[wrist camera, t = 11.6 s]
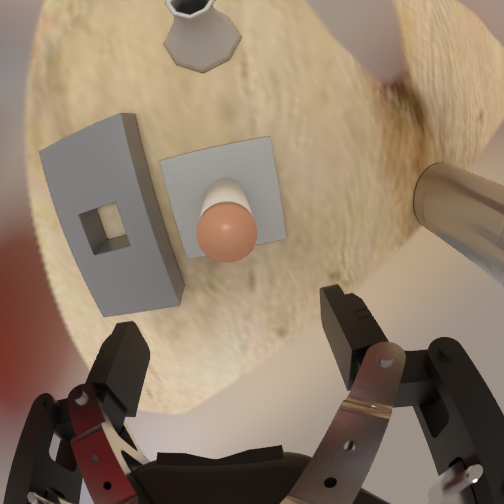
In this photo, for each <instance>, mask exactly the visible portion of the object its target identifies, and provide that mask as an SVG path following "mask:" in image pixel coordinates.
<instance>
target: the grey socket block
mask: <svg viewBox="0 0 504 504" xmlns="http://www.w3.org/2000/svg"><path fill="white" fill-rule="evenodd" d="M39 154H40V158H41V163H42V166H43V170H44V174H45V178H46V181H47V185H48V188H49V191H50V195H51V198H52V201H53V204H54V207H55V210H56V213H57V216H58V218H59V221H60V224H61V227H62V229H63V232H64V234H65V237H66V240H67V242H68V244H69V247H70V249H71V252H72V254H73V256H74V259H75V261H76V263H77V265H78V268H79V270H80V272H81V274H82V276H83V278H84V280H85V282H86V285H87V287H88V289H89V291H90V293H91V294H92V296H93V298H94V300H95V302H96V304H97V306H98V308H99V310H100V311H101V313H102V315H103V317H109V316H116V315H123V314H130V313H137V312H143V311H150V310H156V309H162V308H168V307H174V306H180V304H181V299H182V295H183V290H184V286H185V285H184V282H183V279H182V277H181V274H180V271H179V268H178V265H177V262H176V259H175V256H174V253H173V250H172V247H171V244H170V241H169V238H168V235H167V232H166V229H165V226H164V222H163V219H162V216H161V213H160V209H159V206H158V202H157V199H156V196H155V192H154V188H153V185H152V181H151V178H150V174H149V170H148V166H147V162H146V158H145V154H144V150H143V146H142V142H141V138H140V134H139V129H138V125H137V120H136V116H135V114H128V113H120V114H117V115H114V116H112V117H109V118H107V119H105V120H102V121H100V122H97V123H95V124H93V125H91V126H88V127H86V128H84V129H82V130H80V131H78V132H75V133H73V134H71V135H69V136H67V137H65V138H63V139H61V140H59V141H58V142H56V143H54V144H52V145H50V146H48V147H46V148H45V149H43V150H41V151H39ZM114 202H116V204H117V207H118V210H119V213H120V216H121V219H122V222H123V225H124V228H125V231H126V234H127V235H124V236H120V237H117V238H113V239H109V240H108V239H107V237H106V234H105V231H104V228H103V226H102V223H101V220H100V217H99V214H98V211H97V208H98V207H101V206H104V205H108V204H111V203H114Z"/></svg>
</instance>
